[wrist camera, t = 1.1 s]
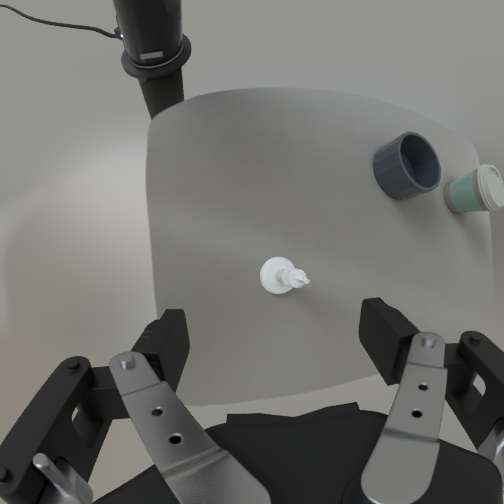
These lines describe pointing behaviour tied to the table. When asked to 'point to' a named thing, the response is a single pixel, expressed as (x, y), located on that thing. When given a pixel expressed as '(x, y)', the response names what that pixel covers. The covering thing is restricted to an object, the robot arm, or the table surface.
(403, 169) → the tumbler
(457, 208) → the coffee cup
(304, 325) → the table surface
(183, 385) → the table surface
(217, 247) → the table surface
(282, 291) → the chess piece
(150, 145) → the table surface
